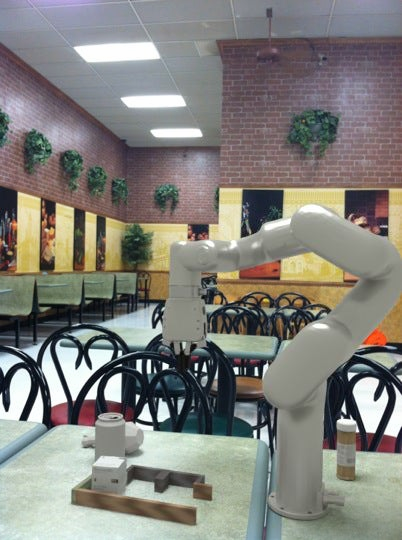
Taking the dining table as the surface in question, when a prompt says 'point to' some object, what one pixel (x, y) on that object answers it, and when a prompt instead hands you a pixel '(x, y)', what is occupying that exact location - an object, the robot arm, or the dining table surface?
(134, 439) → the chicken leg
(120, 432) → the can
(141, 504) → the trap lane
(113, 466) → the skincare box
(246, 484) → the dining table surface
